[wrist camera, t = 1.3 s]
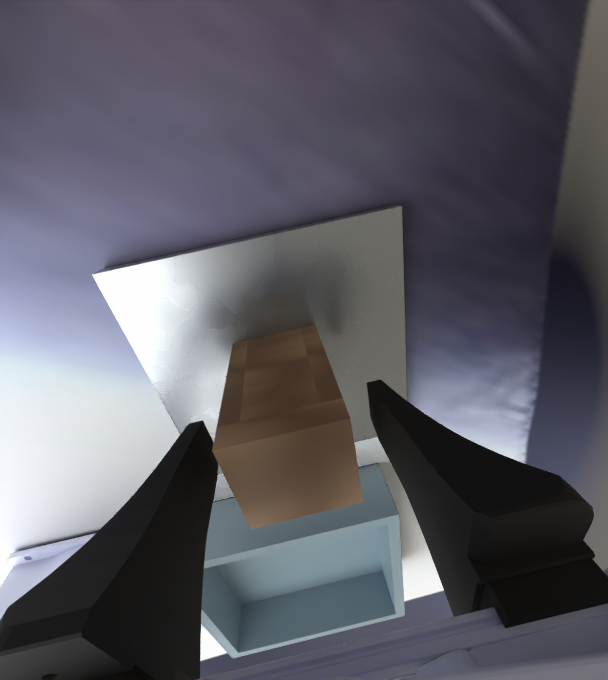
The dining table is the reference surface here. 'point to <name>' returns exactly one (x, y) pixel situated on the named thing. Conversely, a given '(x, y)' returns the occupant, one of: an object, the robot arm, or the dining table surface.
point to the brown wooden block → (285, 430)
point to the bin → (302, 572)
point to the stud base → (269, 309)
